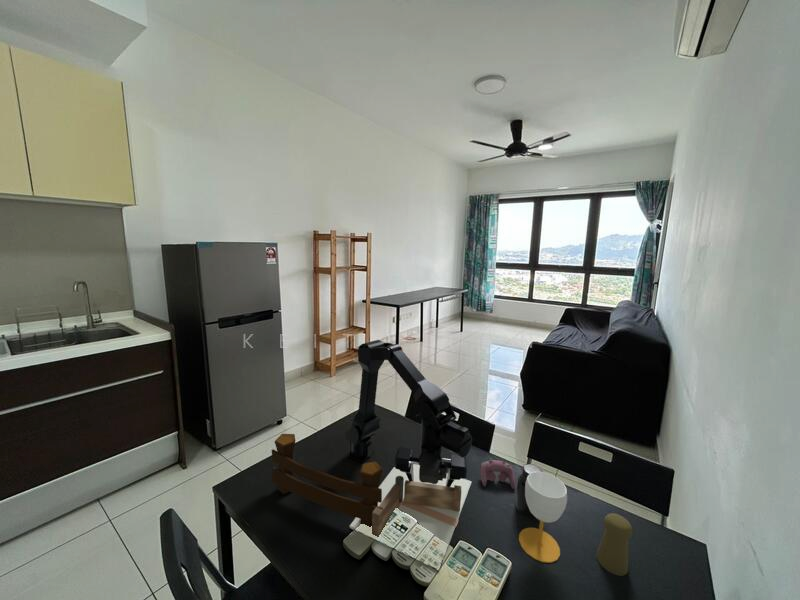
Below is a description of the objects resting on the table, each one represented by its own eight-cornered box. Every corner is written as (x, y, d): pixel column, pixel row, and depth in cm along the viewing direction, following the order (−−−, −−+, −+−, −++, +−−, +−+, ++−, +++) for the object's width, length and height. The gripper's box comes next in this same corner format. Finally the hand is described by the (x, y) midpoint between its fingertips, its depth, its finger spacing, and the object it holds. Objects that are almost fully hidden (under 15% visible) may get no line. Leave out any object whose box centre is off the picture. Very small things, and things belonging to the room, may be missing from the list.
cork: (590, 550, 75) (596, 508, 73) (614, 549, 76) (621, 508, 74) (608, 576, 69) (616, 532, 67) (635, 575, 70) (643, 530, 68)
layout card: (349, 527, 78) (349, 525, 78) (401, 458, 105) (401, 457, 105) (440, 571, 69) (440, 569, 69) (472, 483, 95) (472, 481, 95)
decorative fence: (269, 490, 89) (268, 440, 86) (284, 476, 94) (283, 429, 92) (378, 537, 76) (380, 480, 73) (389, 518, 81) (391, 465, 79)
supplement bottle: (541, 504, 88) (546, 464, 86) (543, 523, 82) (549, 481, 80) (514, 497, 90) (519, 458, 88) (515, 515, 84) (519, 474, 82)
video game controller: (512, 486, 97) (511, 460, 99) (516, 490, 92) (516, 463, 94) (479, 483, 98) (479, 457, 100) (482, 487, 93) (481, 460, 95)
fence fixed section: (371, 535, 76) (371, 511, 75) (396, 495, 88) (397, 474, 87) (379, 538, 75) (379, 514, 74) (404, 498, 88) (405, 477, 87)
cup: (555, 532, 79) (562, 474, 77) (564, 567, 71) (574, 503, 68) (516, 524, 81) (522, 467, 79) (521, 557, 73) (528, 494, 70)
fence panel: (403, 502, 86) (404, 482, 85) (404, 497, 88) (405, 477, 87) (459, 511, 84) (461, 491, 83) (459, 505, 85) (461, 486, 84)
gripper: (391, 453, 78) (389, 507, 81) (469, 464, 75) (464, 520, 78) (399, 427, 89) (397, 476, 92) (467, 435, 86) (463, 486, 89)
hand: (429, 489), depth 88 cm, fingers open, 9 cm apart
